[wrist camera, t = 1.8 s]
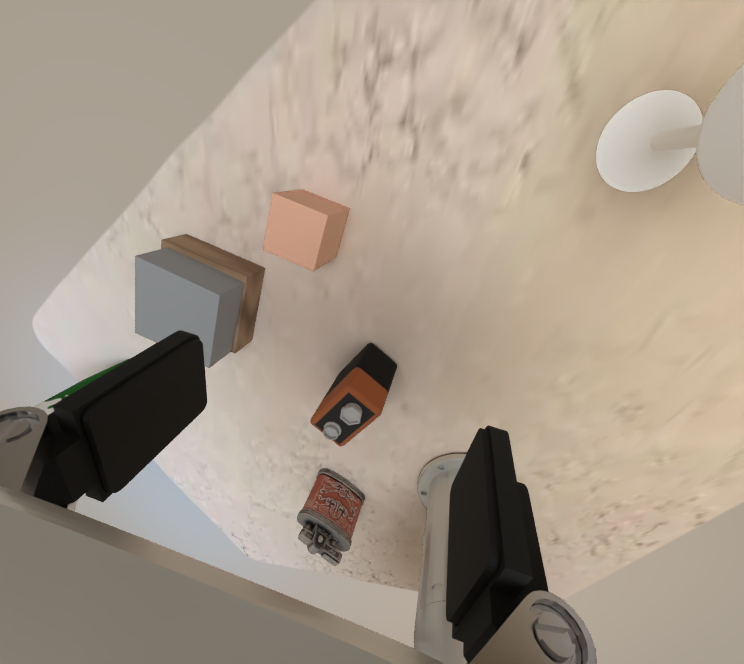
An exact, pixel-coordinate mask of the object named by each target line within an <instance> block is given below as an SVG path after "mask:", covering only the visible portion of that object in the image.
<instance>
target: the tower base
mask: <svg viewBox="0 0 744 664" xmlns="http://www.w3.org/2000/svg"><path fill="white" fill-rule="evenodd" d="M164 248H170V249H173V250H175V251H177V252H179V253H181V254H183V255H186V256H188V257H190V258H192V259H194V260H196V261H199V262H201V263H203V264H205V265H207V266H209V267H212V268H214V269H216V270H218V271H220V272H222V273H224V274H227V275H229V276H231V277H233V278H235V279H237V280H240V281H242V282H244V288H243V294H242V299H241V305H240V310H239V316H238V321H237V327H236V332H235V338H234V343H233V348H232V351H231V352H233V353H236V352H237V351H239V350H240V349H241V348H242V347H244V346H245V345H246V344H248V343H249V342H250V341H251V340H252V337H253V332H254V326H255V321H256V316H257V310H258V305H259V299H260V294H261V289H262V283H263V278H264V272H265V268H264V267H262V266H259V265H257V264H255V263H252V262H250V261H248V260H245V259H243V258H241V257H238V256H236V255H234V254H232V253H229V252H227V251H225V250H222V249H220V248H218V247H215V246H213V245H211V244H208V243H206V242H204V241H201V240H199V239H197V238H194V237H192V236H190V235H187V234H185V235H181V236H176V237H172V238H167V239H163V240H162V244H161V249H164Z"/></svg>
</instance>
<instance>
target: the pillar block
mask: <svg viewBox="0 0 744 664" xmlns="http://www.w3.org/2000/svg"><path fill="white" fill-rule="evenodd" d="M349 210H350V208H347V207H345V206H342V205H340V204H337V203H335V202H332V201H330V200H327V199H325V198H322V197H320V196H318V195H315V194H313V193H310V192H308V191H305V190H295V191H286V192H276V193H273V194H272V200H271V206H270V212H269V217H268V223H267V229H266V235H265V241H264V246H263V250H265V251H267V252H269V253H272V254H274V255H276V256H279V257H281V258H284V259H286V260H288V261H291V262H293V263H295V264H298V265H300V266H302V267H305V268H307V269H310V270H312V271H315V270H316V269H318V268H319V267H321V266H322V265H324V264H325V263H327V262H328V261H330V260H331V259H333V258H334V257H336V255H337V252H338V248H339V245H340V241H341V238H342V234H343V231H344V227H345V224H346V220H347V217H348V213H349Z"/></svg>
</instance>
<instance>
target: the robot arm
mask: <svg viewBox="0 0 744 664" xmlns="http://www.w3.org/2000/svg"><path fill="white" fill-rule="evenodd" d="M206 404H207V392H206V379H205V365H204V351H203V343H202V341H200V338H199V337H198V336H197V335H195V334H192V333H189V332H186V331H182V330H179V331H176V332H174V333H173V334H171V335H169V336H168V337H166V338H164V339H163V340H161V341H159V342H158V343H156V344H154V345H153V346H151V347H149V348H148V349H146V350H144V351H143V352H141V353H139V354H138V355H136V356H134V357H133V358H131V359H129V360H128V361H126V362H124V363H122V364H121V365H119V366H117V367H116V368H114V369H112V370H111V371H109V372H107V373H106V374H104V375H102V376H101V377H99V378H97V379H96V380H94V381H92V382H91V383H89V384H87V385H86V386H84V387H82V388H81V389H79V390H77V391H76V392H74V393H72V394H71V395H69V396H67V397H66V398H64V399H62V400H61V401H59V402H57V403H56V404H54V405H52V406H53V409H54V412H52V413H50V414H49V415H47V414H46V412H45V411H44V410H42V409H40V408H36V407H17V408H12V409H7V410H4V411H1V412H0V664H597V659H596V649H595V646H594V643H593V640H592V637H591V635H590V633H589V631H588V629H587V627H586V625H585V624H584V622H583V620H582V619H581V618H580V617H579V615H578V614H577V613H576V612H575V610H574V609H573V608H572V607H571V606H570V605H568V604H567V603H566V602H565V601H564V600H563V599H561V598H560V597H558V596H556V595H554V594H553V593H550V592H549V591H548V586H547V581H546V576H545V571H544V567H543V562H542V557H541V552H540V547H539V542H538V537H537V532H536V527H535V522H534V517H533V512H532V507H531V502H530V497H529V493H528V490H527V487H526V486H525V484H522V483H519V482H517V480H516V474H515V469H514V463H513V457H512V451H511V445H510V440H509V434H508V432H507V431H505V430H501V429H498V428H495V427H492V426H487V427H486V428H485V429H482V428H480V429H479V430H478V432H477V434H476V436H475V438H474V440H473V442H472V444H471V446H470V448H469V450H468V452H467V454H449V455H445V456H441V457H439V458H436V459H434V460H432V461H431V462H430V463H428V464H427V465H426V466H425V467H424V468H423V470H422V471H421V474H420V476H419V481H418V493H419V497H420V499H421V501H422V503H423V504H424V506H425V507H426V508H427V518H426V528H425V534H424V535H423V536H422V539H421V541H422V544H423V556H422V565H421V575H420V584H419V593H418V603H417V612H416V621H415V631H414V648H412V647H409V646H407V645H405V644H402V643H400V642H398V641H395V640H393V639H391V638H388V637H386V636H384V635H381V634H379V633H377V632H374V631H372V630H369V629H367V628H365V627H363V626H360V625H358V624H355V623H353V622H351V621H348V620H346V619H343V618H341V617H338V616H336V615H333V614H331V613H328V612H326V611H324V610H321V609H319V608H316V607H314V606H311V605H309V604H306V603H304V602H301V601H299V600H296V599H294V598H291V597H289V596H286V595H284V594H282V593H279V592H277V591H274V590H272V589H269V588H267V587H264V586H262V585H259V584H256V583H254V582H252V581H249V580H247V579H244V578H242V577H239V576H237V575H234V574H232V573H229V572H227V571H224V570H221V569H219V568H217V567H214V566H211V565H209V564H206V563H204V562H201V561H199V560H196V559H194V558H191V557H189V556H186V555H183V554H181V553H179V552H176V551H174V550H171V549H168V548H166V547H163V546H161V545H159V544H156V543H153V542H151V541H148V540H146V539H143V538H141V537H138V536H135V535H133V534H130V533H128V532H125V531H123V530H120V529H118V528H115V527H113V526H110V525H107V524H105V523H102V522H100V521H97V520H94V519H92V518H89V517H87V516H84V515H82V514H79V513H77V512H75V509H76V504H77V500H78V499H79V498H80V497H81V496H82V495H83V494H84V493H86V496H88V497H91V498H94V499H96V500H98V501H101V502H104V501H105V500H106V499H107V498H108V497H109V496H110V495H111V494H112V493H116V492H118V491H120V490H121V489H122V488H124V487H125V486H126V485H127V484H128V483H129V481H131V480H132V479H133V478H134V477H135V476H136V475H137V474H138V473H139V472H140V471H141V470H142V469H143V468H144V467H145V466H146V465H147V464H148V463H149V462H150V461H152V460H153V459H154V458H155V457H156V456H157V455H158V454H159V453H160V452H161V451H162V450H163V449H164V448H165V447H166V446H167V445H168V444H169V443H170V442H171V441H172V440H173V439H174V438H175V437H176V436H177V435H178V434H179V433H180V432H182V431H183V430H184V429H185V428H186V427H187V426H188V425H189V424H190V423H191V422H192V421H193V420H194V419H195V418H196V417H197V416H198V415H199V414H200V413H201V412H202V411H203V410H204V408H205V407H206Z"/></svg>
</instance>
